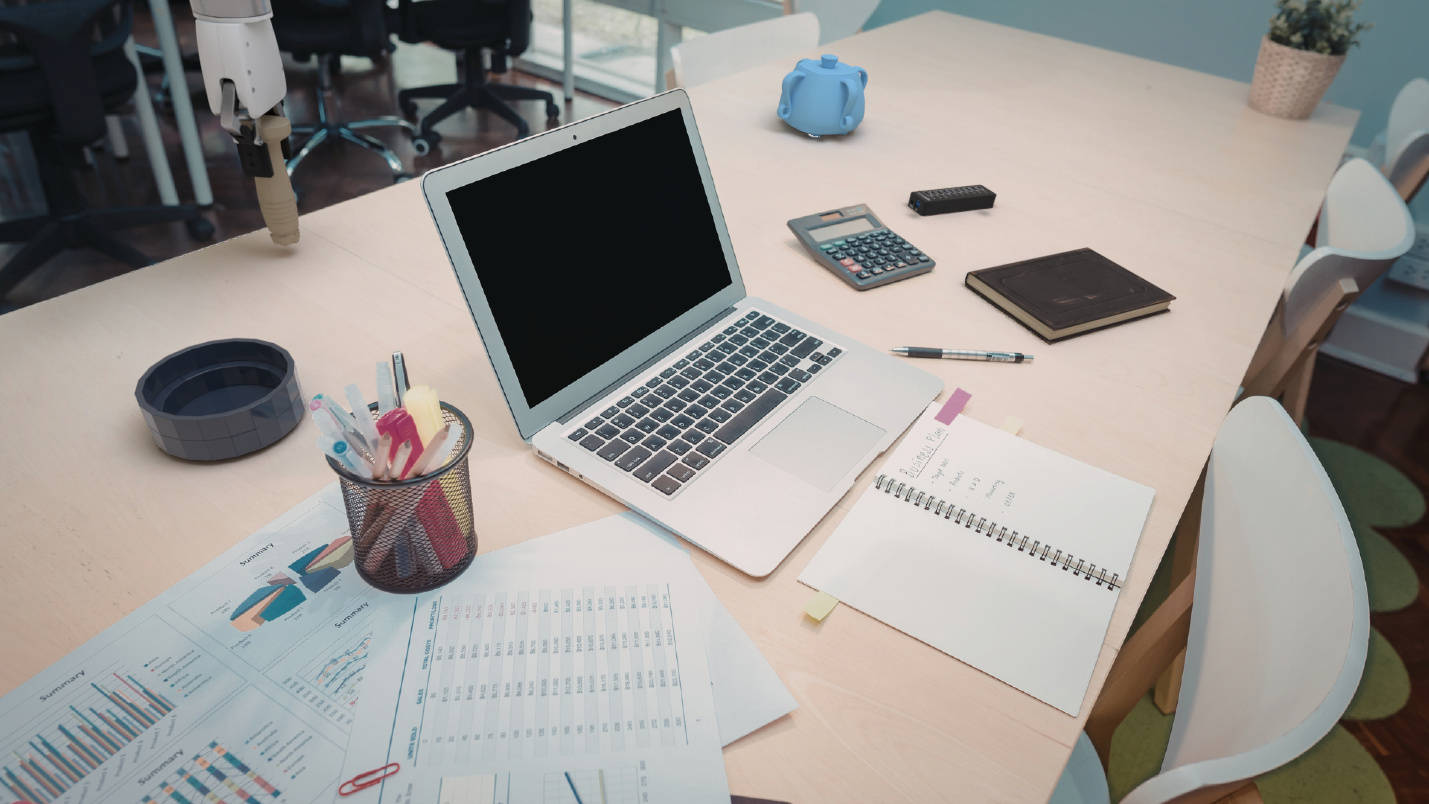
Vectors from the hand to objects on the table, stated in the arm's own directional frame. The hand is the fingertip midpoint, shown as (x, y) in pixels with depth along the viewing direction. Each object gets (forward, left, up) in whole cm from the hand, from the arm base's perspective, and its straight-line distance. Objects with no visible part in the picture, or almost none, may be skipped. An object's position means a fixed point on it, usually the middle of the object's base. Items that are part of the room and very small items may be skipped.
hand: (269, 165), depth 97 cm
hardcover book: (+102, -2, -12) cm, 103 cm away
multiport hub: (+94, +27, -12) cm, 99 cm away
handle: (0, 0, -10) cm, 10 cm away
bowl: (+6, -34, -12) cm, 36 cm away
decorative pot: (+77, +61, -12) cm, 100 cm away
